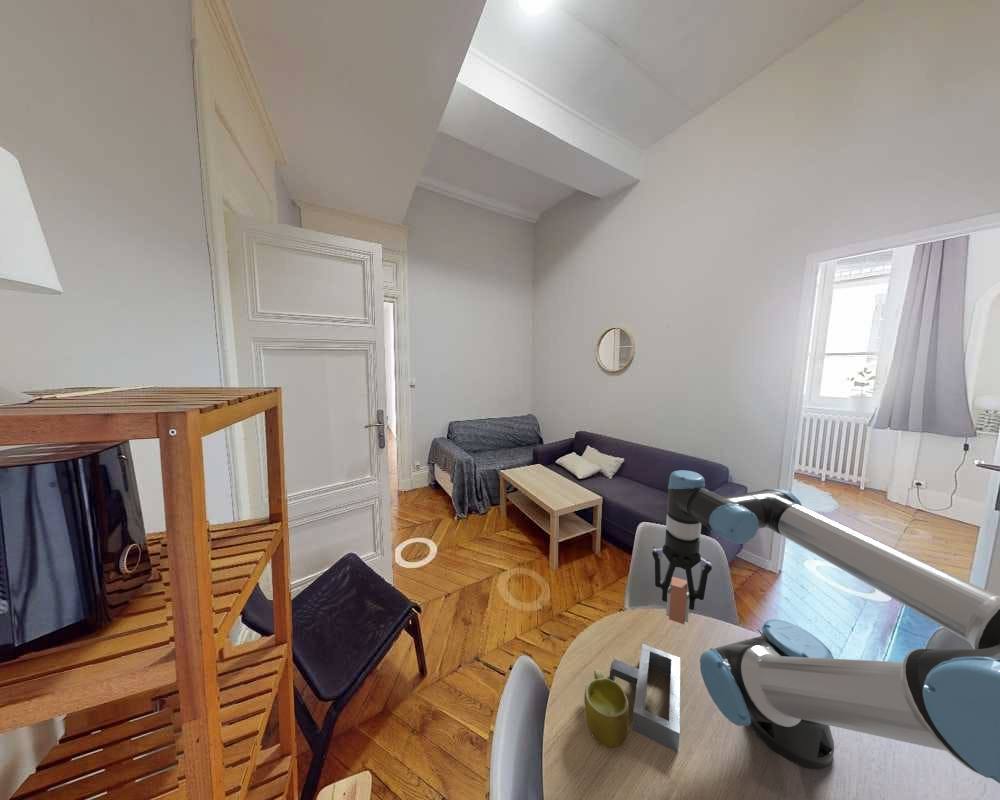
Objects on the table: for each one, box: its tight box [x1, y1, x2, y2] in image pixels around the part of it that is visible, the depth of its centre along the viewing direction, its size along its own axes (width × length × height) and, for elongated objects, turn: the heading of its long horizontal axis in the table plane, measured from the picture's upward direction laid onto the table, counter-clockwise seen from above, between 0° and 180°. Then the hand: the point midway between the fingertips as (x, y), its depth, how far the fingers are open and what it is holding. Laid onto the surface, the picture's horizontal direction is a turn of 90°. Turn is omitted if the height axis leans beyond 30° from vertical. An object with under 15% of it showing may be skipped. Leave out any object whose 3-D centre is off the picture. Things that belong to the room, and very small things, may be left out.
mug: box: [583, 669, 630, 749], centre depth 75 cm, size 12×10×10 cm
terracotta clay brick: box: [668, 576, 688, 625], centre depth 85 cm, size 4×4×10 cm
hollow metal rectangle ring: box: [609, 643, 681, 753], centre depth 81 cm, size 16×19×5 cm
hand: (676, 614), depth 86 cm, fingers closed on terracotta clay brick, 3 cm apart
